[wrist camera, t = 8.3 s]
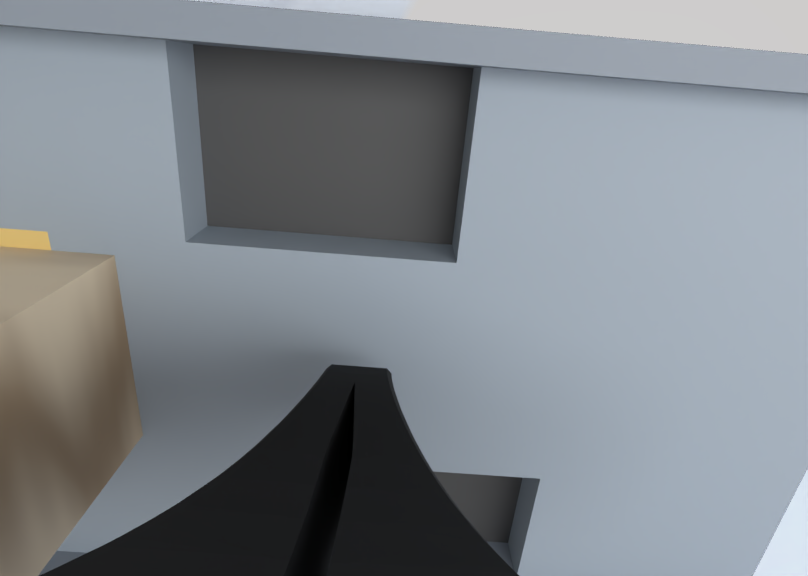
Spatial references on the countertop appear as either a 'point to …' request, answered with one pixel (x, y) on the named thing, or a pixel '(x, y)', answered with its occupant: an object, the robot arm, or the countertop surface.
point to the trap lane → (438, 258)
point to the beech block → (59, 397)
